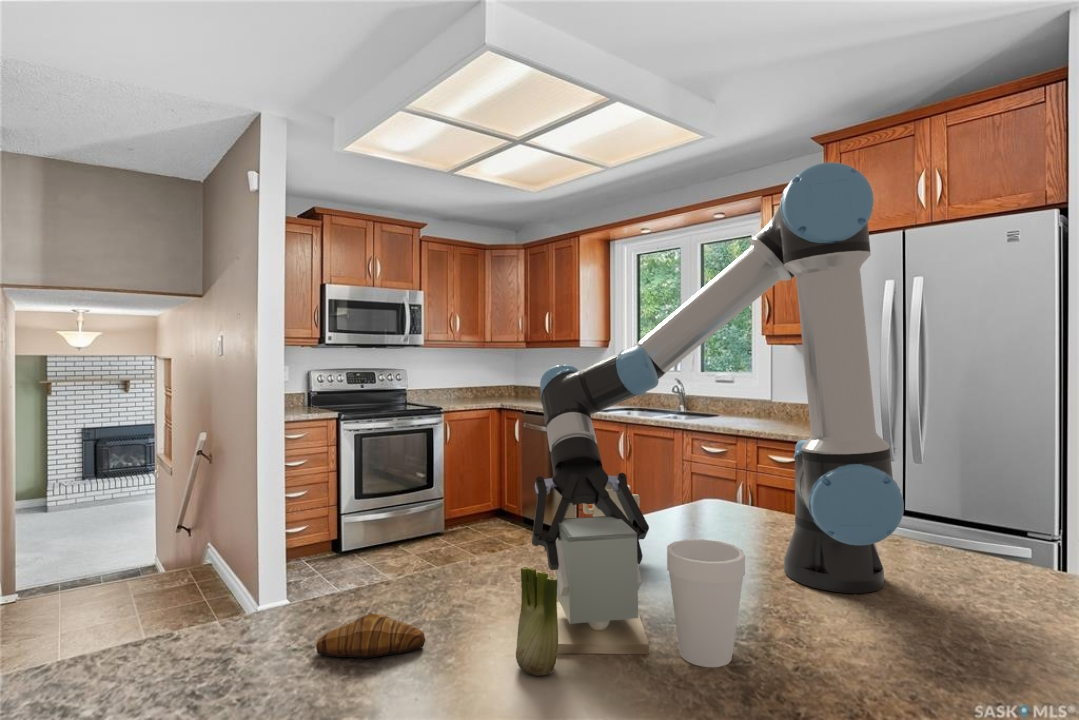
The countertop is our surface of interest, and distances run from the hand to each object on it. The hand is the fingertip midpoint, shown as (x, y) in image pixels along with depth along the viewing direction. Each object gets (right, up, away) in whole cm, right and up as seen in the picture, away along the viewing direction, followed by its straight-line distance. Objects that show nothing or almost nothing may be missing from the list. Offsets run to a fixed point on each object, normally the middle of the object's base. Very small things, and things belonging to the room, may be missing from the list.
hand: (601, 589), depth 79 cm
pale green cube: (0, -4, +3) cm, 5 cm away
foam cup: (+13, -7, -3) cm, 15 cm away
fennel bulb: (-8, -7, -7) cm, 13 cm away
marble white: (0, -6, +1) cm, 6 cm away
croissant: (-29, -7, -2) cm, 30 cm away
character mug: (+5, -7, +35) cm, 36 cm away
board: (-2, -7, +4) cm, 8 cm away
